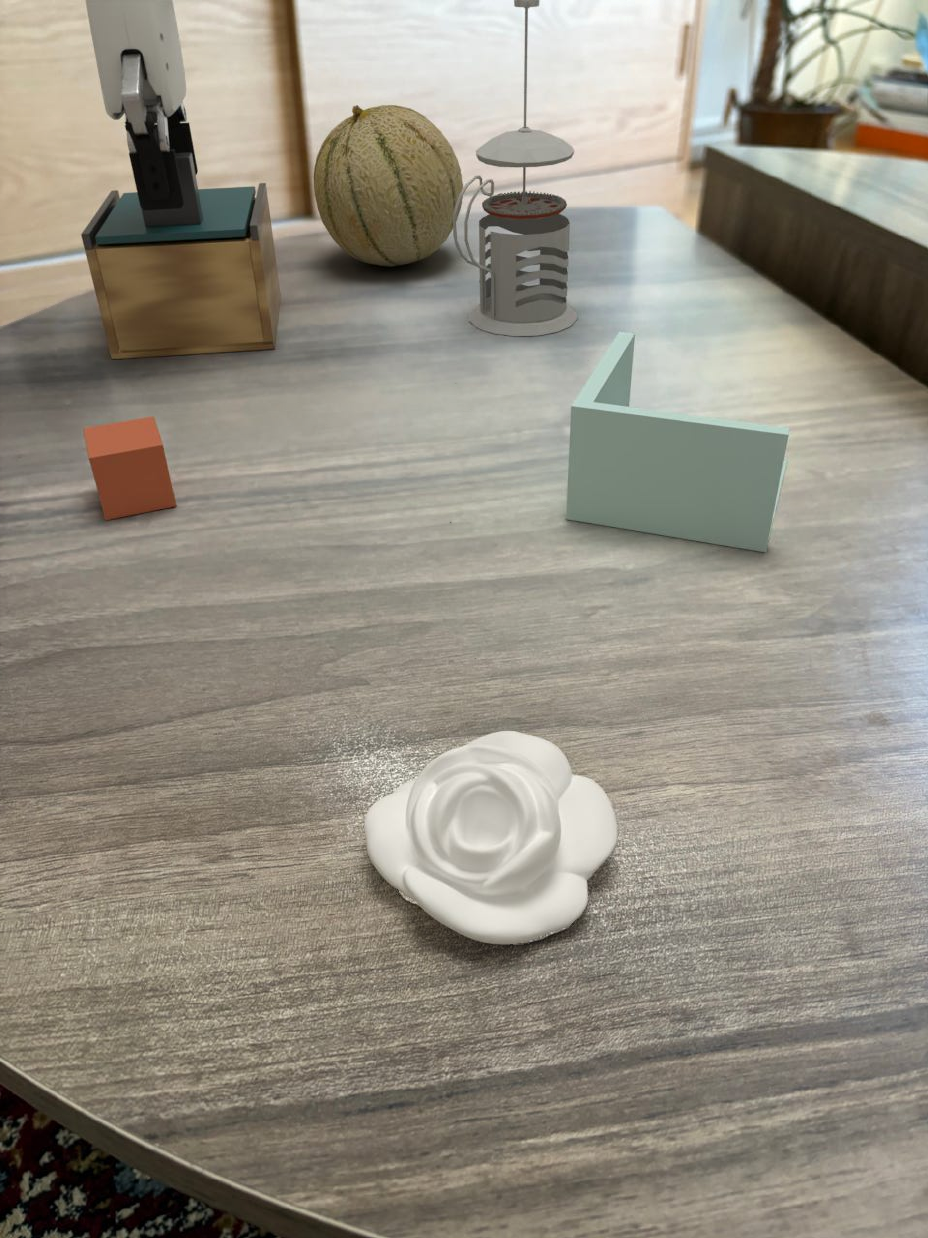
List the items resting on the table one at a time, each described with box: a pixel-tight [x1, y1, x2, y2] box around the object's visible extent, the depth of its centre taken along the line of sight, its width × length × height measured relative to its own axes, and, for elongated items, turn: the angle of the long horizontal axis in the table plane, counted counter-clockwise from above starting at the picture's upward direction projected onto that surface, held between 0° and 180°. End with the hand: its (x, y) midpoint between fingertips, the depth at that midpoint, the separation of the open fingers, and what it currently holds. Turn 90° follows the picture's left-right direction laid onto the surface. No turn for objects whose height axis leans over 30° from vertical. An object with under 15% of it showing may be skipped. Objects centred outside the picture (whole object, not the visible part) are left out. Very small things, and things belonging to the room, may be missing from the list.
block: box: [83, 415, 177, 521], centre depth 63 cm, size 4×4×4 cm
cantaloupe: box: [313, 104, 464, 267], centre depth 98 cm, size 15×15×15 cm
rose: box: [363, 730, 618, 945], centre depth 39 cm, size 10×4×10 cm
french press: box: [452, 0, 578, 337], centre depth 82 cm, size 10×12×25 cm
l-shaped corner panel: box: [565, 331, 791, 553], centre depth 62 cm, size 12×12×8 cm
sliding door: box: [95, 152, 257, 244], centre depth 82 cm, size 12×14×6 cm
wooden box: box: [80, 182, 282, 360], centre depth 86 cm, size 14×14×10 cm
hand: (171, 191), depth 79 cm, fingers open, 9 cm apart
